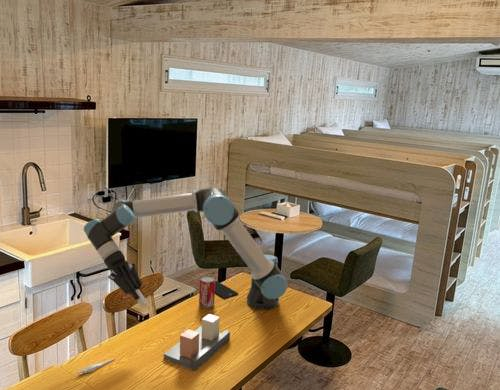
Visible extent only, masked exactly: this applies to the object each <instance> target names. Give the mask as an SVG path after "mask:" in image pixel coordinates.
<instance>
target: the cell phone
mask: <svg viewBox="0 0 500 390" xmlns="http://www.w3.org/2000/svg"><path fill="white" fill-rule="evenodd" d="M214 281H215V295H217V296H218V297H220V299H221V298H222V299H223V300H228V299H230V298H234V297H235V296H238V295H239V292H237V291H235V290H234V289H231V288H230V287H228V286H226V285H225V284H223V283H221V282H219V281H217V280H214Z"/></svg>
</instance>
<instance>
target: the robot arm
mask: <svg viewBox="0 0 500 390" xmlns="http://www.w3.org/2000/svg"><path fill="white" fill-rule="evenodd" d="M191 211H194V212H195V213H201V212H203V215H204V217H205V219H207V221H208V222H209V223H211V225H212V226H213V228H214V229H215V230H216V231H221V232H222V233H223V234H224V236H225V238H226V239H227V240H228V241H229V243H230V244H231V245H232V247H233V249H235V251H236V252H237V254H238V255H239V257H240V258H241V259H242V261H243V262H244V263H245V265H246V266H247V267H248V268H249V270H250V272H251V274H250V277H251V281H250V283H251V284H250V288H249V290H248V293H247V295H246V303H247V305H248V306H250V307H251V308H254V309H257V310H270V309H271V310H272V309H275V308H276V307H277V306H278V305H279V301H280V298H281V297H282V296H283V295H285V293H286V291H287V289H288V282H287V279H286V277H285V276H284V275H283V273H282V272H281V270H280V269H279V267H278V263H279V261H278V257H277V256H275V255H271V254H264V252H263V251H262V249H261V248H260V246H259V245H258V244H257V243H256V241H255V240H254V239H253V237H252V235H251V234H250V233H249V230H248V229H247V228H246V227H245V225H244V224H243V223H242V221H241V220H240V212H239V211H238V209H237V208H236V207H235V205H234V204H233V202H232V200H231V199H230V198H229V197H228V195H227V193H226V192H225V191H224V190H223V189H220V188H218V187H207V188H202V189H193V190H192V192H190V193H189V192H188V193H181V194H174V195H166V196H158V197H152V198H145V199H138V200H137V199H136V200H129V201H127V200H124V199H120V200H117V201H116V202H114V204H113V205H112V208H111V211H110V214H109V215H108V216H106V217H105V218H104V219H103V218H102V220H101V219H99V218H93V219H92V220H90V221H88V222H87V223H86V224H85V225H84V227H83V232H84V233H85V235H86V237H87V239H88V240H89V242H90V243H91V244H92V246H93V248H94V249H95V250H96V251H97V254H98V255H99V256H100V258H101V259H102V260H103V263H104V264H105V265H106V267H107V268H108V269H109V271H110V274H109V275H108V279H109V280H111V281H113V283H114V284H116V286H118V287H119V289H121V291H122V292H123V293H124V294H125V295H130V296H132V298H133V299H134V300H135V301H136V302H137V303H138V305H139V306H140V307H141V308H143V307H146V305H148V303H149V302H148V301H147V299H146V297H145V295H144V293H143V291H142V290H141V288H142V285H143V282H142V281H141V278H140V276H139V273H138V270H137V269H136V264H135V263H129V262H128V260H126V257H125V255H124V253H123V252H122V251H121V250H120V248H119V245H118V244H117V243H116V242H115V240H114V238H113V236H115V235H117V234H118V233H119V232H120V231H122V230H123V229H124V228H126V227H128V226H130V224H132V223H133V222H134V221H135V219H140V218H146V217H154V216H161V215H168V214H169V215H170V214H176V213H184V212H191Z"/></svg>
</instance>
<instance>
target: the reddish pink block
mask: <svg viewBox="0 0 500 390" xmlns="http://www.w3.org/2000/svg"><path fill="white" fill-rule="evenodd" d="M179 342H180V355H182V356H184V357H187V358H190V359H192V358H193V357H194V356H195V355H196V354H198V353H199V333H198V332H195V330H192V329H189V328H188V329H186V330H185V331H184V332H182V333H181V334H180V335H179Z"/></svg>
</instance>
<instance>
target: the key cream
mask: <svg viewBox="0 0 500 390" xmlns="http://www.w3.org/2000/svg"><path fill="white" fill-rule="evenodd" d="M220 318H221V317H220V316H217V315H215V314H211V313H208V314H206V316H204V317H203V318H201V326H202V338H205V339H207V340H210V341H213V340H214V339H215V338H217V337H218V336H219V332H220V320H221V319H220Z"/></svg>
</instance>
